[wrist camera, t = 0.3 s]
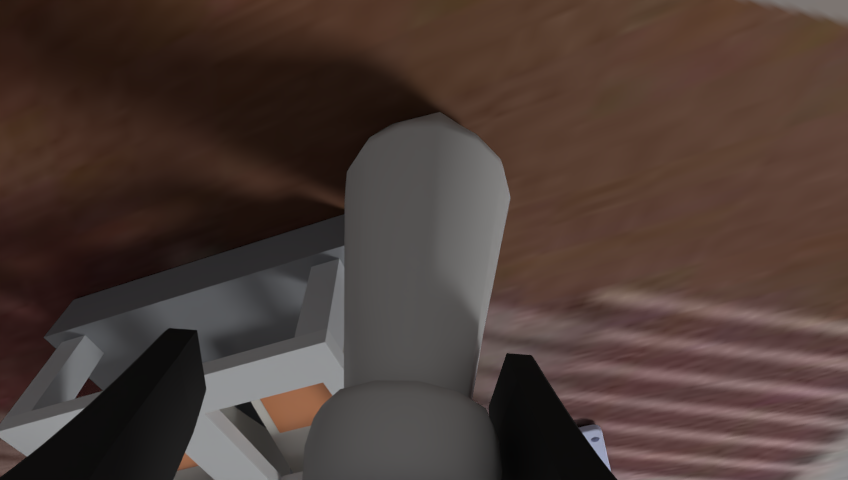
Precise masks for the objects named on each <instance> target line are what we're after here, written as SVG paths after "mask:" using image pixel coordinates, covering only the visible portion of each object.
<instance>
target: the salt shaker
mask: <svg viewBox="0 0 848 480" xmlns="http://www.w3.org/2000/svg"><path fill="white" fill-rule="evenodd" d="M509 202H510V194H509V190H508V185H507V181H506V177H505V173H504V169H503V165H502V162H501V159H500V158H499V157H498V156H497V155H496V154H495V153H494V152H493V151H492V150H491V149H490V148H489V147H488V146H487V145H486V144H485V143H484V142H483V140H482V139H481V138H479V136H478V135H477V134H475V133H473V132H471V131H470V130H468V129H466V128H464V127H463V126H461V125H459V124H458V123H456V122H455V121H453V120H452V119H450V118H449V117H447V116H446V115H444V114H442V113H441V112H438V113H434V114H430V115H426V116H422V117H418V118H414V119H410V120H406V121H401V122H397V123H393V124H391V125H390V126H388V127H386V128H385V129H383V130H381V131H380V132H378V133H376V134H375V135H373V136H371V137H370V138H369V139H368V140H367V142H366V143H365V145H364V146H363V148H362V149H361V151H360V152H359V154H358V155H357V157H356V158H355V160H354V161H353V163H352V165H351V166H350V168H349V169H348V171H347V176H346V189H345V237H344V388H343V389H340V390H339V391H337V392H336V393H335V394H334V395H333V396H332V397H331V398H330V399H329V400H327V401H326V402H325V403H324V404H323V405H322V406H321V408H320V409H319V411H318V412H317V414H316V415H315V417H314V418H313V421H312V424H311V428H310V431H309V434H308V437H307V440H306V443H305V447H304V461H303V475H302V480H501V478H502V465H501V454H500V443H499V440H498V437H497V434H496V432H495V429H494V427H493V424H492V422H491V420H490V417H489V415H488V413H487V410H486V409H485V408H484V407H482V406H481V405H479V404H477V403H476V402H474V401H473V400H472V398H473V392H474V386H475V380H476V374H477V368H478V362H479V356H480V350H481V343H482V337H483V332H484V327H485V322H486V317H487V312H488V307H489V302H490V297H491V292H492V287H493V282H494V277H495V272H496V267H497V262H498V257H499V252H500V247H501V242H502V237H503V232H504V227H505V222H506V217H507V212H508V207H509Z"/></svg>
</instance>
